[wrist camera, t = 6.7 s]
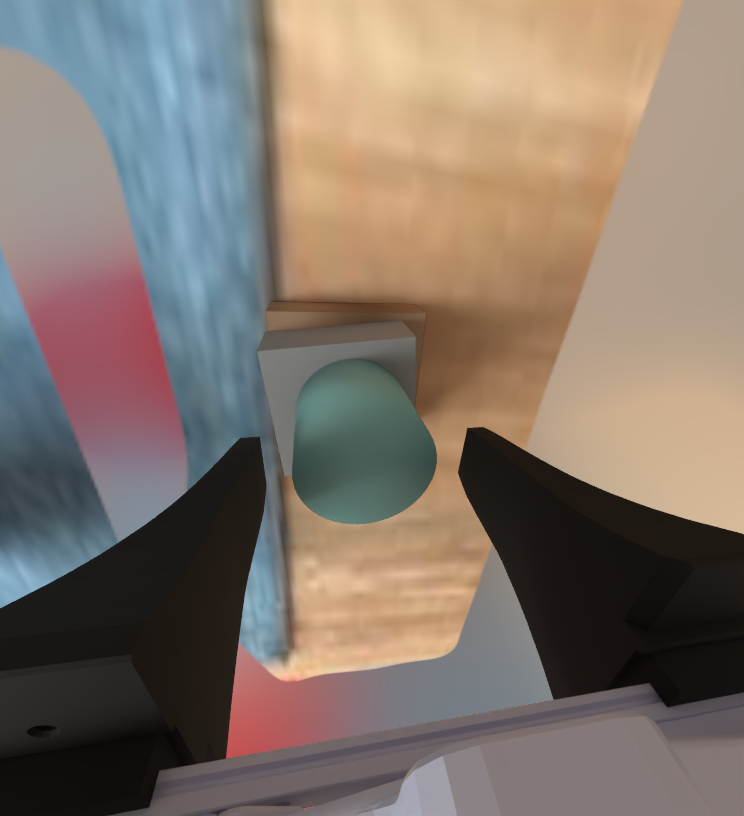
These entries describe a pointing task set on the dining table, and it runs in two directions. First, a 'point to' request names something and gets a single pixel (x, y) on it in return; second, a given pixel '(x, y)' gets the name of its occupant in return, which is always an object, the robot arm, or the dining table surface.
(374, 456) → the green rounded cylinder
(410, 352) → the top block
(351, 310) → the base block
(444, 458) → the dining table surface
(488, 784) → the robot arm
